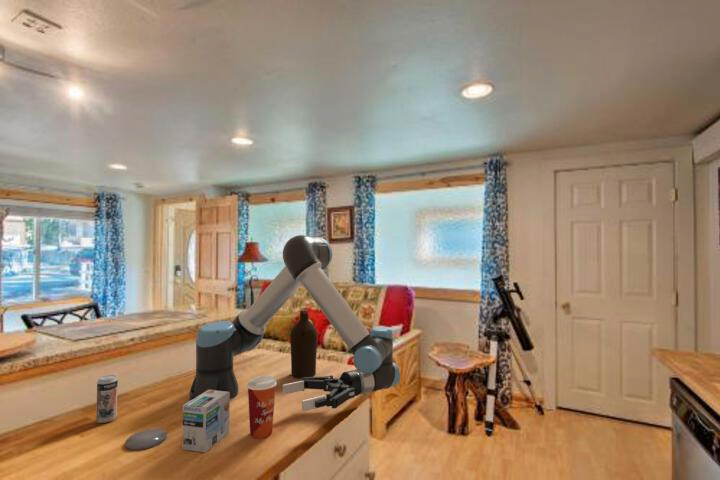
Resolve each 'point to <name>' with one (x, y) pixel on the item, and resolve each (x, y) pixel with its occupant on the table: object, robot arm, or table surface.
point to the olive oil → (303, 347)
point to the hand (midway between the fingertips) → (292, 397)
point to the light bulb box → (205, 420)
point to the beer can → (106, 399)
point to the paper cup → (261, 405)
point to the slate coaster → (146, 439)
